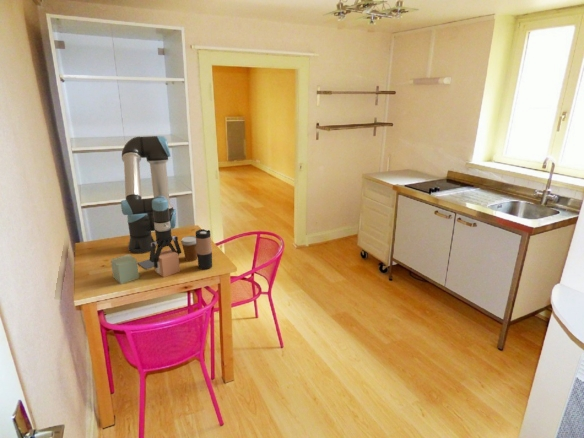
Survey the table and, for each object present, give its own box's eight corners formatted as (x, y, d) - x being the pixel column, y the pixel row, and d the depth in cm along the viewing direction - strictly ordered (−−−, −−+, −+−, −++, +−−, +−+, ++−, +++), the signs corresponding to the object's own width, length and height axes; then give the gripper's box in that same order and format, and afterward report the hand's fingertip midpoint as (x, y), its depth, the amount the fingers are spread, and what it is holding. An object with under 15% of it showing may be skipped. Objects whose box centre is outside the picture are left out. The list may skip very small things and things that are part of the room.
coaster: (137, 263, 201) (137, 262, 201) (155, 258, 208) (155, 257, 207) (145, 269, 194) (145, 268, 194) (163, 263, 201) (163, 262, 201)
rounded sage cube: (113, 277, 185) (110, 259, 182) (131, 271, 191) (128, 254, 188) (120, 284, 179) (118, 265, 176) (139, 277, 185) (136, 259, 182)
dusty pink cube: (155, 271, 192) (153, 253, 189) (171, 266, 198) (169, 248, 195) (163, 277, 186) (161, 259, 183) (179, 271, 192) (178, 253, 189)
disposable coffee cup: (195, 263, 202) (193, 242, 198) (179, 261, 204) (177, 241, 200) (203, 256, 211) (201, 236, 207) (187, 254, 212) (185, 235, 208)
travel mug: (200, 271, 193) (197, 235, 186) (196, 265, 199) (193, 230, 193) (214, 268, 196) (212, 232, 190) (210, 262, 203) (208, 228, 196)
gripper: (145, 236, 175) (150, 279, 182) (186, 225, 190) (189, 265, 197) (138, 232, 180) (143, 274, 187) (178, 222, 194) (182, 261, 202)
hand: (167, 269), depth 192 cm, fingers closed on dusty pink cube, 9 cm apart
